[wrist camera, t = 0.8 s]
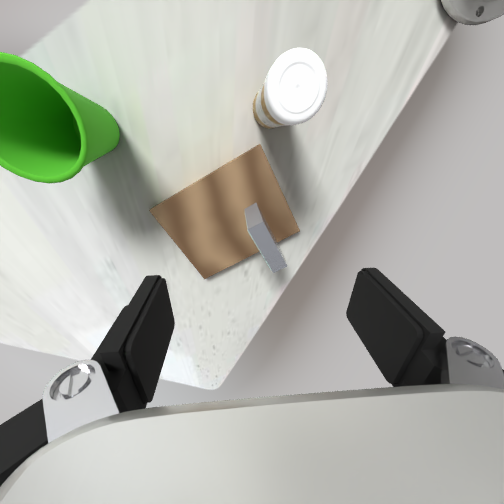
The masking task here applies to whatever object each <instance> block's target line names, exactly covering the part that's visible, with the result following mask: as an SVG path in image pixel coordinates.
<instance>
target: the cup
mask: <svg viewBox="0 0 504 504" xmlns="http://www.w3.org/2000/svg"><path fill="white" fill-rule="evenodd" d="M119 135H120V133H119V128H118V125H117V123H116V121H115V119H114V118H113V116H112V115H111V114H110V113H109V112H108V111H107V110H106V109H104V108H103V107H101V106H100V105H98V104H96V103H94V102H92V101H91V100H89V99H87V98H85V97H83V96H82V95H80V94H78V93H76V92H74V91H73V90H71V89H69V88H67V87H66V86H64V85H62V84H60V83H58V82H57V81H56V80H55V79H54V78H53V77H52V76H51V75H49V74H48V73H47V72H45V71H44V70H42V69H41V68H39V67H38V66H36V65H35V64H34V63H32V62H29V61H27V60H25V59H23V58H21V57H18V56H16V55H12V54H7V53H2V52H0V165H1V166H2V167H3V168H5V169H7V170H9V171H10V172H12V173H14V174H16V175H18V176H21V177H24V178H27V179H30V180H33V181H36V182H43V183H58V182H63V181H66V180H68V179H71V178H73V177H74V176H75V175H76V174H77V173H79V172H80V171H81V169H82V168H83V166H85V165H87V164H89V163H91V162H92V161H94V160H96V159H98V158H99V157H101V156H103V155H105V154H106V153H108V152H110V151H112V150H113V149H114V148H115V147H116V146H117V144H118V142H119Z"/></svg>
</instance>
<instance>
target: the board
mask: <svg viewBox="0 0 504 504" xmlns="http://www.w3.org/2000/svg"><path fill="white" fill-rule="evenodd" d="M254 203H257V205H258V207H259V209H260V210H261V212H262V214H263V216H264V218H265V220H266V222H267V224H268V226H269V227H270V229H271V231H272V233H273V235H274V237H275V239H276V241H277V242H279V241H281V240H283V239H285V238H287V237H289V236H291V235H293V234H295V233H297V232H299V231H300V230H299V228H298V226H297V223H296V221H295V219H294V217H293V215H292V212H291V210H290V208H289V206H288V204H287V201H286V199H285V197H284V195H283V193H282V190H281V188H280V186H279V184H278V182H277V180H276V177H275V175H274V173H273V171H272V169H271V166H270V164H269V162H268V160H267V158H266V155H265V153H264V151H263V149H262V147H261V145H260V144H259V145H257V146H255V147H254V148H252V149H250V150H249V151H247V152H245V153H244V154H242V155H240V156H239V157H237V158H235V159H234V160H232V161H230V162H229V163H227V164H225V165H223V166H222V167H220V168H218V169H217V170H215V171H213V172H212V173H210V174H208V175H207V176H205V177H203V178H202V179H200V180H198V181H197V182H195V183H193V184H192V185H190V186H188V187H186V188H185V189H183V190H181V191H180V192H178V193H176V194H175V195H173V196H171V197H170V198H168V199H166V200H165V201H163V202H161V203H160V204H158V205H156V206H155V207H153V208H151V209H150V210H149V211H150V212H151V213H152V215H153V216H154V217H155V218H156V220H157V221H158V222H159V223H160V225H161V226H162V227H163V228H164V230H165V231H166V232H167V233H168V235H169V236H170V237H171V238H172V239H173V241H174V242H175V243H176V244H177V246H178V247H179V248H180V249H181V251H182V252H183V253H184V254H185V256H186V257H187V258H188V259H189V261H190V262H191V263H192V264H193V265H194V267H195V268H196V269H197V270H198V272H199V273H200V274H201V275H202V277H203V278H204V279H206V278H208V277H210V276H212V275H214V274H216V273H218V272H220V271H222V270H224V269H226V268H228V267H230V266H232V265H234V264H235V263H237V262H239V261H241V260H243V259H245V258H247V257H249V256H251V255H253V254H255V253H257V252H259V249H258V248H257V246H256V244H255V243H254V241H253V239H252V238H251V236H250V234H249V233H248V230H247V224H246V218H245V210H244V209H245V208H247V207H249V206H251V205H252V204H254Z"/></svg>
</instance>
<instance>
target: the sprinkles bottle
mask: <svg viewBox="0 0 504 504" xmlns="http://www.w3.org/2000/svg"><path fill="white" fill-rule="evenodd" d="M326 92H327V74H326V69H325V67H324V64H323V62H322V61H321V59H320V58H319V57H318V55H316V54H315V53H314V52H313V51H311V50H309V49H305V48H294V49H291V50H288V51H286V52H285V53H283V54H282V55H281V56H280V57H279V58H278V59H277V60H276V61H275V63H274V64H273V65H272V67H271V69H270V70H269V72H268V75H267V77H266V80H265V82H264V84H263V86H262V87H261V89H260V90H259V92H258V93H257V94H256V96H255V99H254V102H253V113H254V117H255V119H256V121H257V122H258V123H259V124H260V125H261V126H263V127H265V128H275V127H280V126H285V125H297V124H300V123H303V122H306V121H308V120H309V119H311V118H312V117H313V116H314V115H315V114H316V113H317V112H318V110H319V109H320V107H321V106H322V104H323V102H324V99H325V96H326Z"/></svg>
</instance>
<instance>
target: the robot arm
mask: <svg viewBox="0 0 504 504" xmlns="http://www.w3.org/2000/svg"><path fill="white" fill-rule="evenodd" d="M441 2H442V4H443V7H444V9H445V10H446V11H447V13H448V14H449V16H450V17H452V18H453V19H454V20H456V21H457V22H459V23H462V24H465V25H478V24H482V23H486V22H488V21H491V20H493V19H495V18H498V17H500V16H501V15H503V14H504V0H441ZM346 314H347V318H348V320H349V321H350V323H351V325H352V326H353V328H354V330H355V331H356V333H357V334H358V336H359V337H360V339H361V341H362V342H363V344H364V345H365V347H366V349H367V350H368V352H369V353H370V355H371V357H372V358H373V360H374V361H375V363H376V365H377V366H378V368H379V369H380V371H381V373H382V374H383V376H384V377H385V379H386V380H387V381H388V382H389V383H391V384H392V385H393V387H388V388H374V389H362V390H347V391H335V392H322V393H309V394H297V395H284V396H272V397H260V398H248V399H237V400H225V401H213V402H201V403H192V404H182V405H172V406H162V407H153V408H146V405H147V403H148V402H151V401H152V399H153V396H154V393H155V389H156V386H157V383H158V379H159V376H160V373H161V369H162V366H163V363H164V360H165V356H166V353H167V350H168V346H169V343H170V340H171V336H172V333H173V330H174V324H175V322H174V316H173V312H172V307H171V303H170V298H169V293H168V289H167V284H166V280H165V279H164V278H161V276H160V275H154V276H146V277H145V279H144V280H143V282H142V284H141V285H140V287H139V288H138V290H137V292H136V293H135V295H134V297H133V298H132V300H131V302H130V303H129V305H127V306H125V307H124V308H123V309H122V311H121V313H120V314H119V316H118V317H117V319H116V321H115V322H114V324H113V325H112V327H111V328H110V330H109V332H108V333H107V335H106V336H105V338H104V340H103V341H102V343H101V344H100V346H99V348H98V349H97V351H96V352H95V354H94V355H93V357H92V359H91V360H82V361H78V362H75V363H73V364H71V365H69V366H67V367H66V368H64V369H63V370H61V371H60V372H58V373H57V374H56V375H55V376H54V377H53V378H52V379H51V380H50V382H49V383H48V384H47V386H46V387H45V389H44V391H43V398H42V399H41V400H40V401H38V402H36V403H35V404H33V405H32V406H30V407H28V408H27V409H25V410H24V411H22V412H21V413H19V414H17V415H16V416H14V417H12V418H11V419H9V420H8V421H6V422H4V423H3V424H1V425H0V504H504V370H503V369H502V368H501V365H500V363H499V361H498V359H497V358H496V357H495V356H494V355H493V354H492V353H491V352H490V351H488V350H487V349H486V348H484V347H483V346H481V345H479V344H477V343H476V342H473V341H471V340H469V339H465V338H462V337H450V338H449V339H447V340H446V339H445V338H444V337H443V335H444V333H445V331H444V330H443V329H442V328H441V327H440V326H439V325H438V324H436V323H435V322H434V321H433V320H432V319H431V318H430V317H429V316H428V315H427V314H426V313H424V312H423V311H422V310H421V309H420V308H419V307H418V306H417V305H416V304H415V303H414V302H413V301H411V300H410V299H409V298H408V297H407V296H406V295H405V294H404V293H403V292H401V290H400V289H399V288H397V287H396V286H395V285H394V284H393V283H392V282H391V281H390V280H389V279H388V278H387V277H385V276H384V275H383V274H382V273H381V272H380V271H379V270H378V269H376V268H363V269H362V270H361V271H360V272H358V275H357V278H356V281H355V285H354V288H353V291H352V295H351V298H350V302H349V305H348V308H347V312H346ZM145 408H146V409H145Z"/></svg>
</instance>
